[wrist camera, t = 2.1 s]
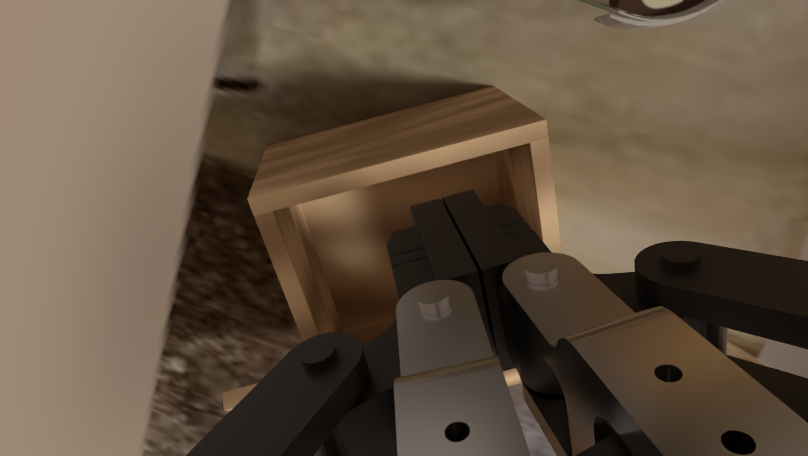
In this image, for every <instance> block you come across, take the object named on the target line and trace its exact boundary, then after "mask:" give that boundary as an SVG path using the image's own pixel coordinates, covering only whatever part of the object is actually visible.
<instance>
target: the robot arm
mask: <svg viewBox="0 0 808 456" xmlns="http://www.w3.org/2000/svg"><path fill="white" fill-rule="evenodd" d="M410 211H411V215H412V220H413V224H414V226H413V227H409V228H406V229H402V230H398V231H394V232H393V233H392V235H391V237H390V239H389V241H388V242H387V249H388V253H389V257H390V262H391V266H392V271H393V275H394V280H395V284H396V289H397V293H398V298H399V302H398V304H397V306H396V317H397V318H396V320H395V321H394V323H393V324H392V325H391V326H390V327H389V328H388V329H387V330H385V331H384V332H383V333H381V334H380V335H378V336H376V337H374V338H373V339H371V340H369V341H367V342H365V343H363V344H361V343H360V341H359V340H358V339H357V338H356V337H355V336H353V335H351V334H349V333H345V332H329V333H323V334H319V335H316V336H314V337H311V338H309V339H307V340H305V341H303V342H302V343H300V344H298V345H297V346H296V347H294V348H293V349H292V350H291V351H290V352H289V353H288V354H287V355H286V356H285V357H284V358H283V359H282V360H281V361H280V362H279V363H278V364H277V365H276V366H275V367H274V368H273V369H272V370H271V371H270V372H269V373H268V374H267V375H266V376H265V377H264V378H263V379H262V380H261V381H260V382H259V383H258V384H257V385H256V386H255V387H254V388H253V389H252V390H251V391H250V392H249V393H248V394H247V395H246V396H245V397H244V398H243V399H242V400H241V401H240V402H239V403H238V404H237V405H236V406H235V407H234V408H233V409H232V410H231V411H230V412H229V413H228V414H227V415H226V416H225V417H224V418H223V419H222V420H221V421H220V422H219V423H218V424H217V425H216V426H215V427H214V428H213V429H212V430H211V431H210V432H209V433H208V434H207V435H206V436H205V437H204V438H203V439H202V440H201V441H200V442H199V443H198V444H197V445H196V446H195V447H194V448H193V449H192V450H191V451H190V452H189V453H188V454H187V455H186V456H314V455H315V456H530V453H529V450H528V447H527V444H526V441H525V437H524V434H523V431H522V428H521V425H520V422H519V419H518V416H517V413H516V410H515V407H514V404H513V401H512V398H511V395H510V392H509V389H508V386H507V383H506V380H505V377H504V374H503V371H507V370H511V369H514V368H516V370H517V372H518V374H519V376H520V381H521V386H522V392H523V397H524V400H525V402H526V404H527V405H528V407H529V409H530V411H531V412H532V414H533V416H534V417H535V419H536V421H537V422H538V424H539V426H540V427H541V429H542V431H543V433H544V434H545V436H546V438H547V439H548V441H549V443H550V444H551V446H552V448H553V449H554V451H555V453H556V455H557V456H808V378H804V377H801V376H797V375H794V374H791V373H787V372H784V371H781V370H777V369H774V368H770V367H767V366H764V365H760V364H757V363H753V362H750V361H747V360H743V359H740V358H736V357H733V356H730V355H727V333H728V328H729V329H733V330H737V331H741V332H744V333H748V334H752V335H756V336H760V337H763V338H767V339H771V340H775V341H779V342H783V343H786V344H790V345H794V346H798V347H801V348H805V349H808V261H804V260H798V259H792V258H787V257H781V256H775V255H769V254H763V253H757V252H751V251H745V250H739V249H733V248H728V247H722V246H716V245H710V244H704V243H698V242H691V241H670V242H663V243H658V244H655V245H652V246H649V247H647V248H645V249H644V250H642V251H641V252H640V253H639V254H638V255H637V256H636V258H635V261H634V262H635V272H627V273H614V274H592V273H591V272H590V271H589V270H588V269H587V268H586V267H584V266H583V265H582V264H581V263H580V262H579V261H578V260H576V259H575V258H573V257H571V256H568V255H565V254H561V253H553V252H551V251H550V250H549V248H548V247H547V246H546V245H545V244H544V242H543V241H542V240H541V239H540V238H539V236H538V235H537V234H536V233H535V232H534V230H532V229H531V227H530V226H529V224H528V223H527V222H526V221H525V220H524V218H523V217H522V216H521V215H520V214H519V212H518V211H517V210H516V209H514V208H511V207H509V206H506V205H504V204H501V203H498V204H495V205H491V206H487V207H485V206H484V205H483V203H482V202H481V200H480V199H479V198H478V196H477V195H476V193H475V192H474V190H468V191H464V192H460V193H457V194H453V195H449V196H445V197H442V201H441V199H440V198H438V199H435V200H431V201H427V202H423V203H420V204H416V205H412V206H410Z"/></svg>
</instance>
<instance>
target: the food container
mask: <svg viewBox="0 0 808 456" xmlns="http://www.w3.org/2000/svg"><path fill="white" fill-rule="evenodd" d="M580 1H583V2H585V3H588V4H591V5H593V6H596V7H599V8H601V9H604V10H607V11H609V12H610V13H609V14H607V15H603V16H599V17H595V19H594V21H597V22H599V23H602V24H605V25H607V26H610V27H616V28H621V29H629V30H644V29H650V28H656V27H662V26H666V25H670V24H674V23H677V22H680V21H684V20H687V19H690V18H692V17H694V16H696V15H698V14H700V13H702V12H704V11H706V10H708V9H710V8H711V7H713V6H714V5H716V4H717V3H719V2H720V1H722V0H580Z"/></svg>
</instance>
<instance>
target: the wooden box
mask: <svg viewBox="0 0 808 456" xmlns="http://www.w3.org/2000/svg"><path fill="white" fill-rule="evenodd" d="M468 190H474V192H475V193H476V195H477V196H478V198H479V199H480V200H481V202H482V203H483V205H484V206H485V207H487V206H491V205H495V204H498V203H501V204H504V205H506V206H509V207H511V208H514V209H516V210H517V211H518V212H519V214H520V215H521V216H522V217H523V218H524V220H525V221H526V222H527V223H528V224H529V226H530V227H531V229H532V230H534V232H535V233H536V234H537V235H538V236H539V238H540V239H541V240H542V241H543V242H544V244H545V245H546V246H547V247H548V248H549V250H550V251H551V252H553V253H561V254H562V250H561V242H560V233H559V225H558V216H557V207H556V199H555V190H554V182H553V173H552V164H551V156H550V147H549V139H548V130H547V122H546V119H544V118H543V117H541V116H540V115H538V114H537V113H535V112H533V111H532V110H530V109H529V108H527V107H526V106H524V105H522V104H521V103H519V102H518V101H516V100H515V99H513V98H511V97H510V96H508V95H507V94H505V93H504V92H502V91H500V90H499V89H497V88H496V87H494V86H490V87H486V88H483V89H479V90H475V91H471V92H467V93H464V94H460V95H456V96H452V97H449V98H445V99H441V100H437V101H433V102H430V103H426V104H422V105H418V106H414V107H411V108H407V109H403V110H399V111H395V112H392V113H388V114H384V115H380V116H377V117H373V118H369V119H365V120H361V121H358V122H354V123H350V124H346V125H342V126H339V127H335V128H331V129H327V130H323V131H320V132H316V133H312V134H308V135H305V136H301V137H297V138H293V139H289V140H286V141H282V142H278V143H274V144H270V145H267V146H266V149H265V152H264V154H263V157H262V160H261V163H260V165H259V168H258V171H257V174H256V176H255V179H254V182H253V185H252V187H251V190H250V193H249V196H248V198H247V200H248V202H249V205H250V208H251V210H252V213H253V215H254V218H255V220H256V223H257V225H258V228H259V230H260V233H261V236H262V238H263V241H264V243H265V246H266V248H267V251H268V253H269V256H270V259H271V261H272V264H273V266H274V269H275V271H276V274H277V276H278V279H279V281H280V284H281V287H282V289H283V292H284V294H285V297H286V299H287V302H288V304H289V307H290V310H291V312H292V315H293V317H294V320H295V322H296V325H297V327H298V330H299V333H300V335H301V338H302V340H303V341H305V340H307V339H309V338H311V337H314V336H316V335H319V334H323V333H329V332H345V333H349V334H351V335H353V336H355V337H356V338H357V339H358V340H359V341H360V343H361V344H363V343H365V342H367V341H369V340H371V339H373V338H374V337H376V336H378V335H380V334H381V333H383V332H384V331H385V330H387V329H388V328H389V327H390V326H391V325H392V324H393V323H394V321H395V320H396V318H397V317H396V306H397V304H398V302H399V298H398V293H397V289H396V284H395V280H394V275H393V271H392V266H391V262H390V257H389V253H388V249H387V242H388V241H389V239H390V237H391V235H392V233H393V232H394V231H398V230H402V229H406V228H409V227H413V226H414V224H413V220H412V215H411V211H410V206H412V205H416V204H420V203H423V202H427V201H431V200H435V199H438V198H440V199H441V201H442V197H445V196H449V195H453V194H457V193H460V192H464V191H468Z"/></svg>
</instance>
